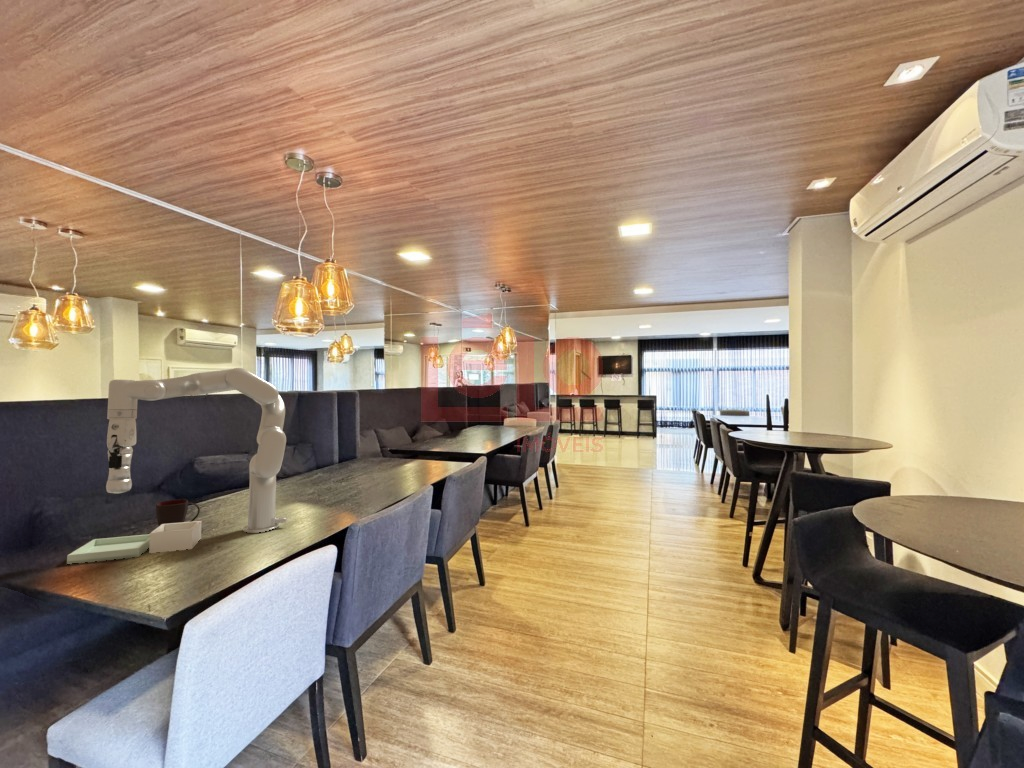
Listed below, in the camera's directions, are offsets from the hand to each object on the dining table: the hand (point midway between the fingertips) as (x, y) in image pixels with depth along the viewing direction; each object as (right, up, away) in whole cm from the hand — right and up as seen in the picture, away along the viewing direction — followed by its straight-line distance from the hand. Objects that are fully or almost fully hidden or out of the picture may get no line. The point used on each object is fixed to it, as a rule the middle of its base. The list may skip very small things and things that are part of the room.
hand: (119, 465), depth 143 cm
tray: (-1, -30, -1) cm, 30 cm away
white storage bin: (+15, -30, +6) cm, 34 cm away
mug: (+3, -31, +21) cm, 38 cm away
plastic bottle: (0, -10, 0) cm, 10 cm away
